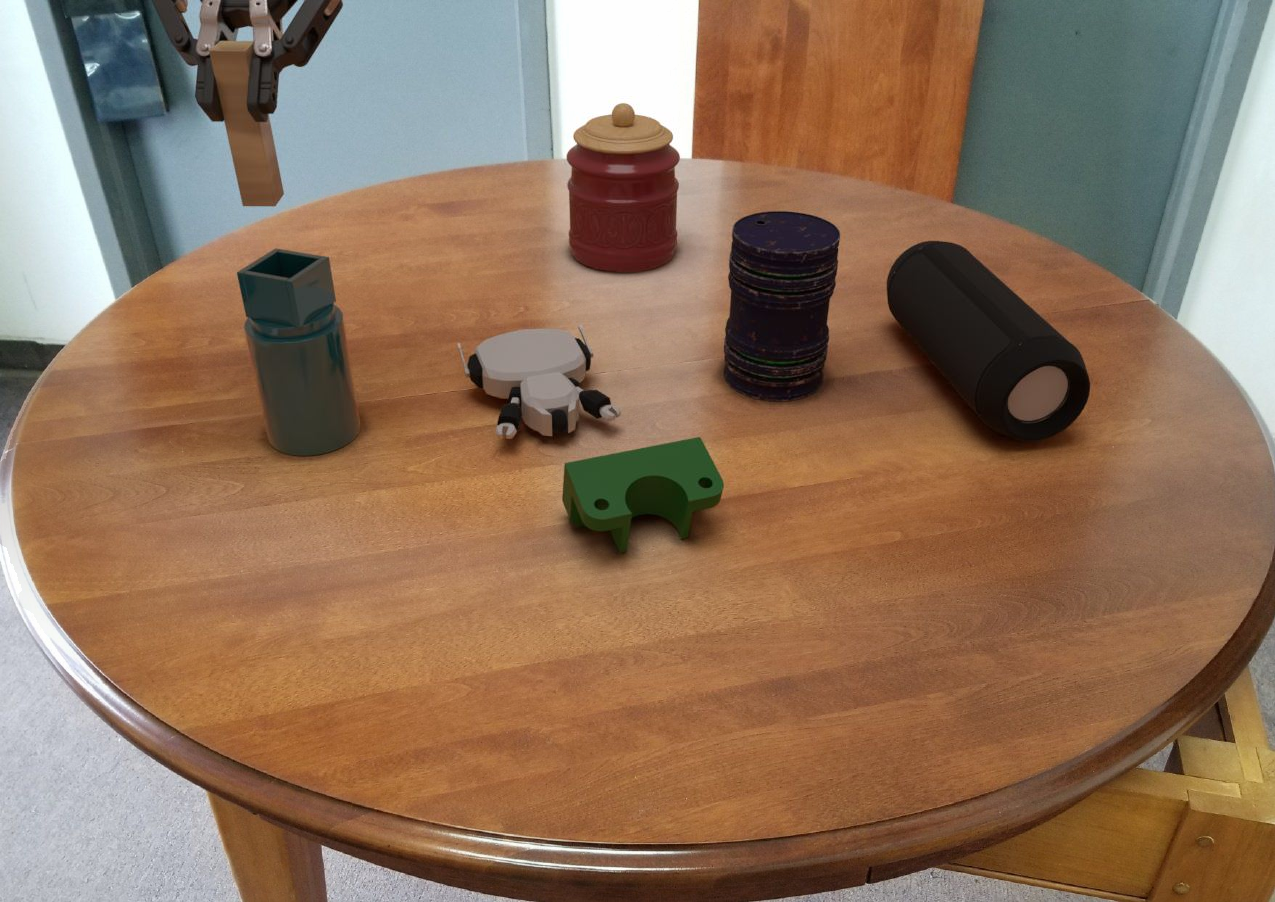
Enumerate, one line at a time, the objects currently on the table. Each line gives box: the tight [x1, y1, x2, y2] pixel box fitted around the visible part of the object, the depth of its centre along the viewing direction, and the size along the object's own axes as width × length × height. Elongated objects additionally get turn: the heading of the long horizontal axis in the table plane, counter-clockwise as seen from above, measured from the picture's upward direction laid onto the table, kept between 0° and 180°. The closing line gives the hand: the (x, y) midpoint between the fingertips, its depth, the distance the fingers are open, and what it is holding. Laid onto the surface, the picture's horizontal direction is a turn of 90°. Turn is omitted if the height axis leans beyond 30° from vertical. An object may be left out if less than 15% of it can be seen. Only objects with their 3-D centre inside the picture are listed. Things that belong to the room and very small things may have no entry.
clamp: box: [561, 436, 725, 554], centre depth 83 cm, size 12×6×9 cm, turn 104°
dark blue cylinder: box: [723, 210, 841, 402], centre depth 100 cm, size 10×10×15 cm
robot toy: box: [456, 324, 622, 440], centre depth 98 cm, size 12×4×15 cm
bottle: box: [236, 248, 362, 457], centre depth 91 cm, size 8×8×16 cm
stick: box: [209, 40, 285, 207], centre depth 75 cm, size 2×2×11 cm
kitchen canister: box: [566, 102, 681, 273], centre depth 124 cm, size 13×13×18 cm
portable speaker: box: [886, 240, 1091, 442], centre depth 101 cm, size 26×10×10 cm, turn 11°
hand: (235, 115), depth 73 cm, fingers closed on stick, 2 cm apart
